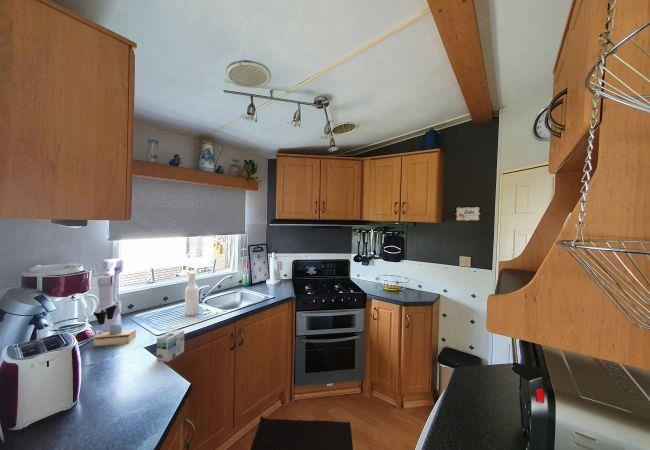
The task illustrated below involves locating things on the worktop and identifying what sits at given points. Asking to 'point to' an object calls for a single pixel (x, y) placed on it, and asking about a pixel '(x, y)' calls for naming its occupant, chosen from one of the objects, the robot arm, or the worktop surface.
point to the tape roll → (115, 328)
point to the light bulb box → (170, 345)
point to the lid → (106, 334)
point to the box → (114, 340)
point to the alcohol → (191, 296)
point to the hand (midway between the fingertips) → (105, 321)
